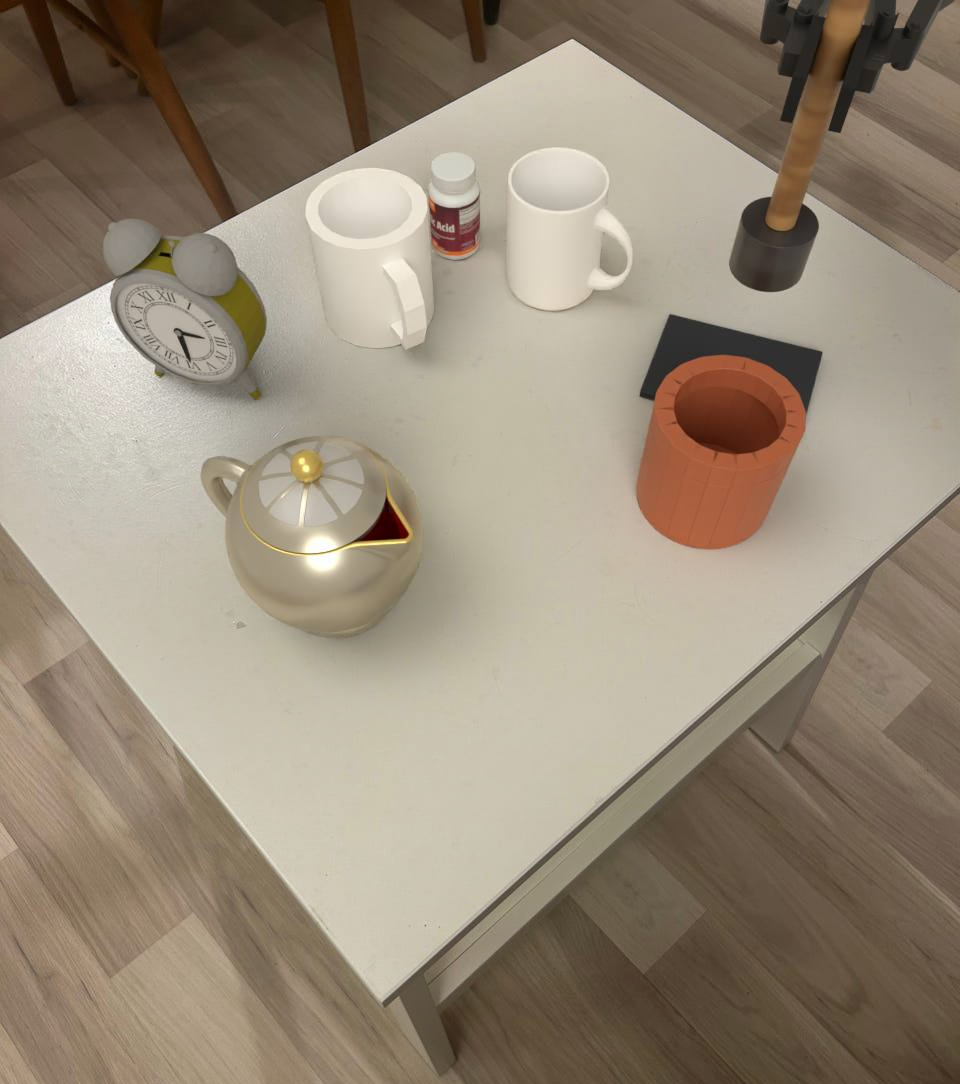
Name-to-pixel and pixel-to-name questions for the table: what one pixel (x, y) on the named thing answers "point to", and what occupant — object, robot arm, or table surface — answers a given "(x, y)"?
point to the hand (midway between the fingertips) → (817, 104)
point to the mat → (705, 339)
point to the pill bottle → (454, 206)
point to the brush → (797, 166)
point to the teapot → (319, 532)
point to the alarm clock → (184, 304)
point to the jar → (718, 450)
